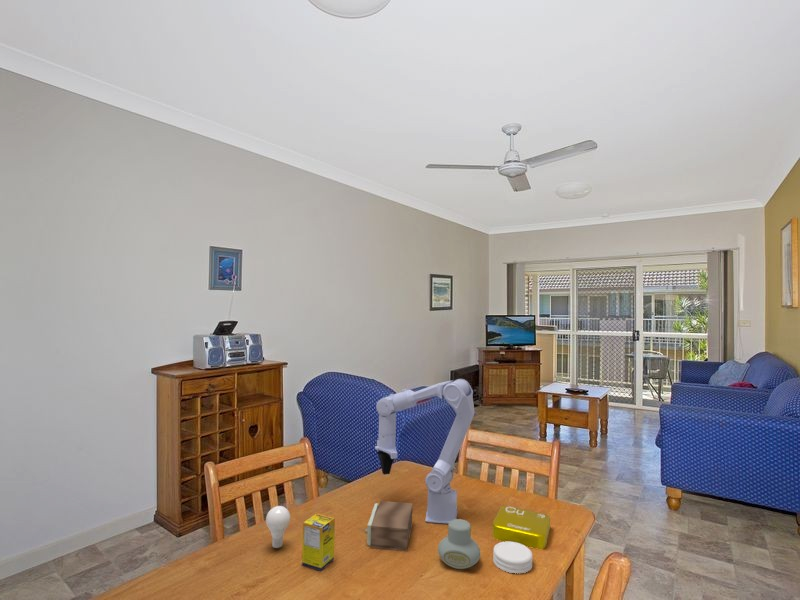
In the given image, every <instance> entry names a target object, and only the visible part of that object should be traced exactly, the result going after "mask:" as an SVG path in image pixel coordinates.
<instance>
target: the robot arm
mask: <svg viewBox="0 0 800 600" xmlns="http://www.w3.org/2000/svg"><path fill="white" fill-rule="evenodd" d="M471 386H472V385H470V383H469V381H468V380H466V379H464V378H458V379H455V380H447V381H443V382H439V383H436V384H433V385H430V386H426V387H424V388H422V389H419V390H416V391H414V390H411V389H407V388H404V389H401V391H400V392H397V393H390V394H389V396H385V397H382V398H380V399H379V400H378V401H377V402H376V404H375V405H376V407H375V408H376V412H377V413H378V439H377V440H376V445H375V446H374V449H375V450H376V451H377V452H376V454H377V456H378V459H379V462H380V467H381V472H382V474H383V475H390V474H391V471H392V467H393V463H394V460H395V459H398V452H397V446H396V437H397V436H396V434H397V433H396V432H397V431H396V430H397V428H396V426H397V424H396V423H397V412H401V411H405V410H407V409H410V408H411V409H412V408H414V407H416V404H417V403H418V402H420V401H423V400H425V399H426V400H427V399H431V398H433V397H438V398H439V399H441V400H443V399H444V400H446V403H448V404H449V405H450V406H451V407H452V409H453V411H454V412H455V415H456V416H455V419H454V420H453V423H452V425H451V428H450V430H449V433H448V435H447V438H446V440H445V442H444V445H443V447H442V449H441V452H440V455H439V456H438V459H437V461H436V462H435V464H434V466H433V467H432V470H431V471H430V472H429V473H427V475H426V477H425V479H424V480H425V481H424V482H425V486H426V488H427V509H426V513H425V514H426V515H425V522H426V523H433V524H434V523H435V524H447V525H448V524H449V522H450V521H451V520H454V519H457V516H458V515H459V514H458V512H459V511H458V508H457V507H458V504H457V503H458V501H457V500H458V491H457V489H452V487H451V482H452V481H453V479H454V468H455V461H456V460H457V457H458V455H459V452H460V451H461V448H462V445H463V442H464V441H465V438H466V436H467V433H468V431H469V428H470V426H471V423H472V421H473V420H474V416H475V414H476V413H475V406H474V398H473V395H474V390H473V388H472V387H471Z"/></svg>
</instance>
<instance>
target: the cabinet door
mask: <svg viewBox="0 0 800 600" xmlns="http://www.w3.org/2000/svg"><path fill="white" fill-rule="evenodd" d="M378 506H379V503H374V506H373V508H372V511H371V514H370V516H369V517H370V518H369V520H368V522H367V528H365V529H364V534H367V535H366V536H367V539H366V546H370V547H371V525H372V522H373V519H374V517H375V514H376V511H377V509H378Z"/></svg>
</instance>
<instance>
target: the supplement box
mask: <svg viewBox="0 0 800 600" xmlns="http://www.w3.org/2000/svg"><path fill="white" fill-rule="evenodd" d="M335 523H336V520H335V517H332V516H328V515H324V514H321V513H315V514H313V515H312V516H311V517H309V518H307V519H306V520H305V521H303V523H302V557H301V558H302V559H301V560H302V562H301V563H302V566H304V567H308V568H311V569H313V570H317V571H320V572H321V571H323V570H324V569H325V568H326V567H327V566H328V565H330V564H331V562H333V561H334V559H335V530H336V529H335V528H336V527H335Z"/></svg>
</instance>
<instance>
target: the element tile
mask: <svg viewBox="0 0 800 600" xmlns="http://www.w3.org/2000/svg"><path fill="white" fill-rule="evenodd" d="M491 530H492V534H491V536H492V538H493V537H494V538H495V539H494V538H493V539H494V540H496V539H498V540H497V541H500V540H501V541H500V542H504V541H510V542H516V543H520V544H522V545H524V546H528V547H527V548H529V547H533V548H538V549H543V550H545V549H546V548H545V547H547V543H548V540H549V536H548V535H550V532H549V531H551V517H550V515H549V514H547V513H542V512H537V511H533V510H528V509H523V508H518V507H514V506H508V505H502V506H500V508H499V510H498V511H497V514H496V516H495V517H494V519H493V522H492V529H491ZM547 539H548V540H547ZM533 548H532V549H533ZM544 548H545V549H544ZM538 549H537V550H538Z"/></svg>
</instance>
